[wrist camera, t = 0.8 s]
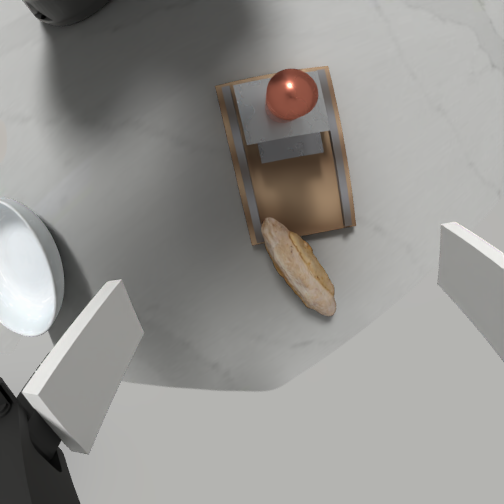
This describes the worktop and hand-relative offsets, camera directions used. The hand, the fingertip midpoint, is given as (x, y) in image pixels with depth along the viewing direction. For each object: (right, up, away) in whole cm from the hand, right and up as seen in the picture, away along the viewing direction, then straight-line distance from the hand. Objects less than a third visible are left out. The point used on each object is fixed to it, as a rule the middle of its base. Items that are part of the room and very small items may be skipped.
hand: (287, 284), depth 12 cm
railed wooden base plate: (+3, +12, +21) cm, 24 cm away
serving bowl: (-36, +1, +27) cm, 45 cm away
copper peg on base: (+2, +15, +18) cm, 23 cm away
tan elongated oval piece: (+6, -1, +27) cm, 27 cm away
